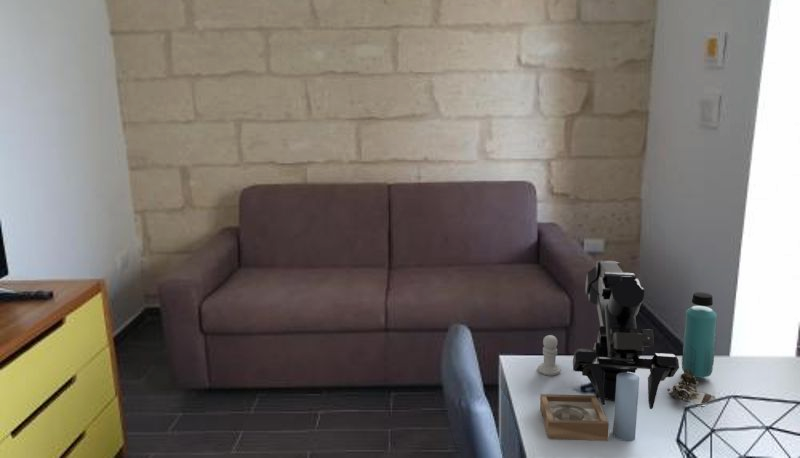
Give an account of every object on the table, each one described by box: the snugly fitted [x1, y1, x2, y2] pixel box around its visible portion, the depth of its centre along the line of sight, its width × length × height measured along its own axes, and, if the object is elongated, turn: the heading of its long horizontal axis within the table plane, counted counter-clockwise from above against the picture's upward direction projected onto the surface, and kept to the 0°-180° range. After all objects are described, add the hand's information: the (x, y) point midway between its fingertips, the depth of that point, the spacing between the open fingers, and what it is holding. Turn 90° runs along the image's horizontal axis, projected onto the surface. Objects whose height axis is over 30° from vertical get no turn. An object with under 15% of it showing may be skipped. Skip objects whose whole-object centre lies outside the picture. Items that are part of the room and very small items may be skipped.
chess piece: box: [537, 334, 562, 377], centre depth 141 cm, size 5×5×9 cm
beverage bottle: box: [680, 291, 718, 378], centre depth 136 cm, size 6×7×20 cm
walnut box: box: [539, 393, 610, 442], centre depth 119 cm, size 11×11×4 cm
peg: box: [612, 372, 640, 442], centre depth 114 cm, size 4×4×12 cm
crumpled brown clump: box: [667, 369, 716, 408], centre depth 128 cm, size 12×6×11 cm
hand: (627, 406), depth 112 cm, fingers open, 8 cm apart
